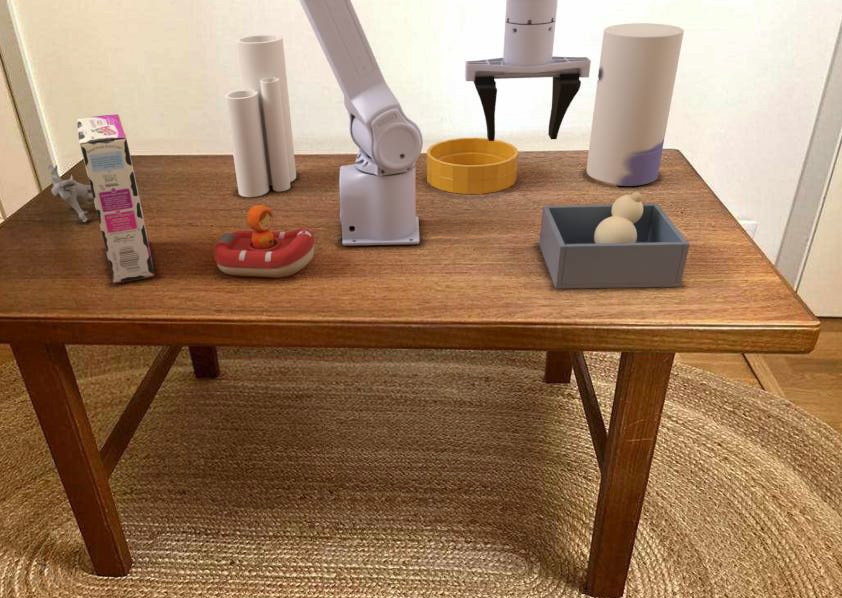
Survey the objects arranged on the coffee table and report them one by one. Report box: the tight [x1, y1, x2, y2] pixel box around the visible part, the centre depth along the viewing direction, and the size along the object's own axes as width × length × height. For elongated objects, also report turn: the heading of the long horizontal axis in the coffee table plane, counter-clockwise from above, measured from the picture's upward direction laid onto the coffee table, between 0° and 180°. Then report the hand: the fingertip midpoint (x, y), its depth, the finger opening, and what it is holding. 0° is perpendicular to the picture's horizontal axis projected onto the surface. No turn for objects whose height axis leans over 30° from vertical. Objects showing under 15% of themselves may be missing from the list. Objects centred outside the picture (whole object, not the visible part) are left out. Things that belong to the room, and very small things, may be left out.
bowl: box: [426, 137, 520, 195], centre depth 105 cm, size 13×13×4 cm
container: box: [585, 22, 685, 187], centre depth 101 cm, size 10×10×20 cm
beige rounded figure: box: [594, 191, 643, 244], centre depth 82 cm, size 5×5×8 cm
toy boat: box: [214, 204, 315, 279], centre depth 83 cm, size 8×12×8 cm, turn 81°
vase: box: [224, 34, 297, 198], centre depth 104 cm, size 11×7×20 cm, turn 166°
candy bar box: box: [76, 114, 156, 284], centre depth 84 cm, size 11×5×16 cm, turn 21°
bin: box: [538, 203, 691, 290], centre depth 81 cm, size 13×11×5 cm
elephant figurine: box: [47, 163, 94, 223], centre depth 102 cm, size 10×6×9 cm
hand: (521, 137), depth 91 cm, fingers open, 7 cm apart
